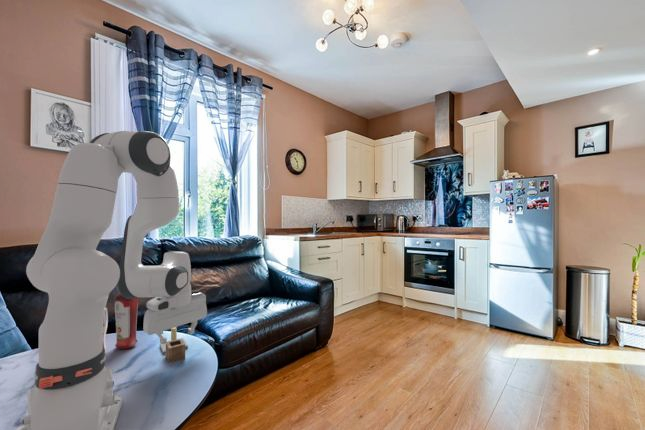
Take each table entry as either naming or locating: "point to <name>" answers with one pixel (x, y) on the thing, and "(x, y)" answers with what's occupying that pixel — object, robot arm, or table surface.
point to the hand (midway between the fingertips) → (177, 338)
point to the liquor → (125, 321)
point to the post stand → (173, 337)
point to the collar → (175, 350)
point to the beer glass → (105, 326)
